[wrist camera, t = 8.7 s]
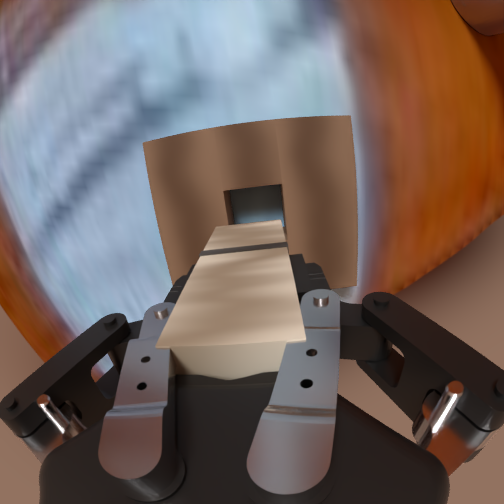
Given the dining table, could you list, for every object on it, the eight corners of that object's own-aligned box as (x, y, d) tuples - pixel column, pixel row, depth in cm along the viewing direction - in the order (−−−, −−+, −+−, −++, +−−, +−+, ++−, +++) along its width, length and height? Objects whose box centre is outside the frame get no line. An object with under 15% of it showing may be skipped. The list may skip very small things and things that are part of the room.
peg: (281, 218, 15) (308, 336, 6) (287, 278, 17) (307, 423, 7) (214, 226, 16) (153, 344, 6) (225, 284, 17) (192, 427, 8)
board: (338, 119, 24) (350, 115, 20) (346, 268, 30) (356, 285, 26) (158, 142, 26) (142, 142, 22) (187, 284, 31) (177, 303, 28)
